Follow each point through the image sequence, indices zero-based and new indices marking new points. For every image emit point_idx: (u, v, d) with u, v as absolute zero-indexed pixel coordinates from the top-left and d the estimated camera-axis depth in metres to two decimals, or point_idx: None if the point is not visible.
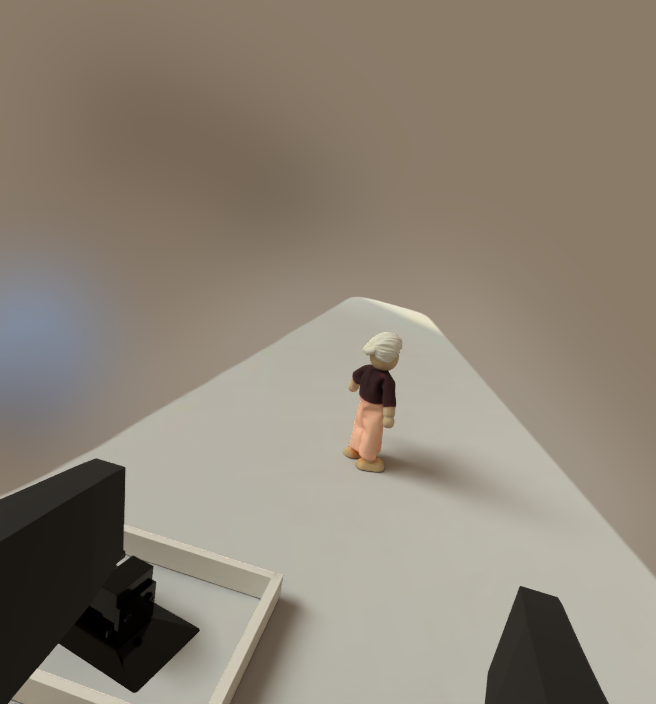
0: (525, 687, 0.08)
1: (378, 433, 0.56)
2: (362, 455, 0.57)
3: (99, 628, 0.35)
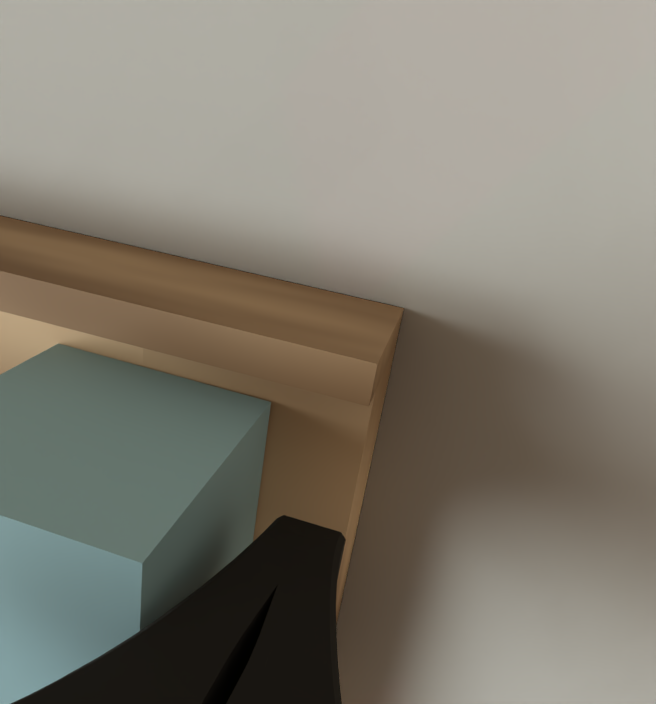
0: None
1: None
2: None
3: None
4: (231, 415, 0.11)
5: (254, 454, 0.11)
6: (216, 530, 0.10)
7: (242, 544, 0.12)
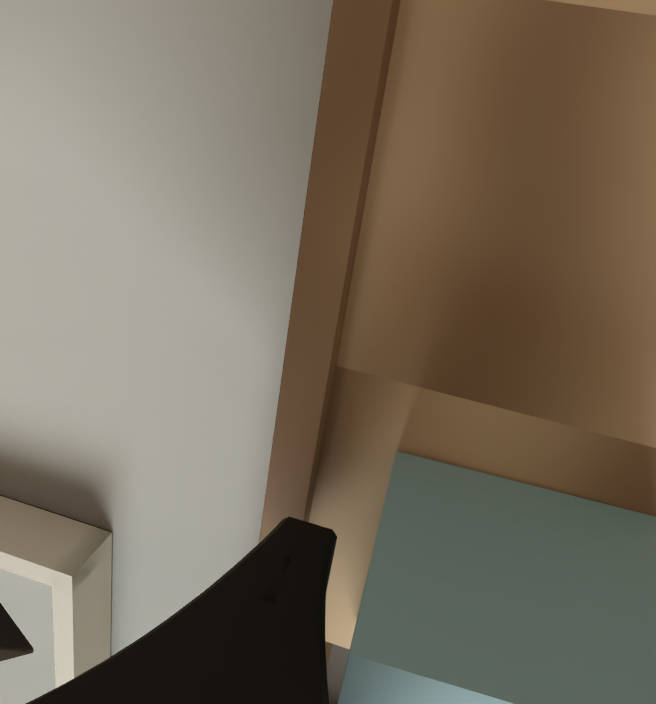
0: None
1: None
2: None
3: None
4: None
5: (437, 481, 0.11)
6: (469, 549, 0.09)
7: (561, 515, 0.10)
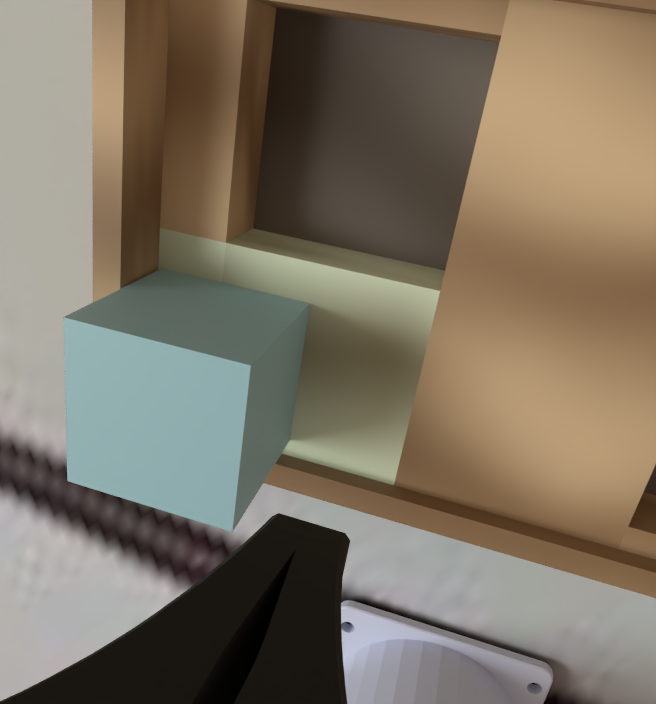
0: None
1: None
2: None
3: None
4: (285, 308, 0.17)
5: (299, 336, 0.17)
6: (279, 377, 0.16)
7: (289, 402, 0.18)
